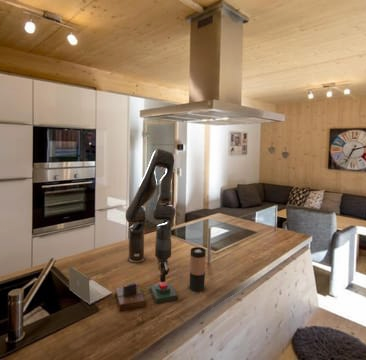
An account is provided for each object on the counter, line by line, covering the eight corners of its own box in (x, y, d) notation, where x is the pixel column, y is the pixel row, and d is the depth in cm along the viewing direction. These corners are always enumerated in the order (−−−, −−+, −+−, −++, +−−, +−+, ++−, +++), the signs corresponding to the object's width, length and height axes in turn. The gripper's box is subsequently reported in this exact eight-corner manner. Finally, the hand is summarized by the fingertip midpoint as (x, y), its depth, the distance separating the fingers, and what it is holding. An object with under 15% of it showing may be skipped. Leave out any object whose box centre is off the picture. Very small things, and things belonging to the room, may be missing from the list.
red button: (158, 286, 135) (158, 282, 135) (165, 285, 137) (165, 281, 136) (160, 290, 132) (160, 286, 132) (167, 288, 133) (168, 285, 133)
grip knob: (135, 291, 132) (135, 281, 131) (136, 293, 130) (136, 283, 129) (123, 294, 128) (122, 285, 128) (124, 296, 127) (124, 286, 126)
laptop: (112, 294, 134) (112, 268, 132) (89, 305, 125) (88, 278, 123) (91, 280, 146) (91, 257, 144) (69, 290, 137) (68, 265, 135)
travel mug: (186, 285, 143) (187, 248, 140) (200, 282, 146) (201, 246, 143) (193, 293, 137) (194, 254, 134) (207, 290, 140) (208, 251, 137)
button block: (150, 289, 139) (150, 282, 138) (169, 286, 142) (169, 279, 141) (156, 303, 128) (156, 295, 127) (177, 299, 131) (177, 291, 130)
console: (116, 293, 135) (115, 287, 134) (138, 290, 138) (138, 284, 138) (119, 311, 121) (119, 304, 121) (144, 306, 125) (144, 300, 124)
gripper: (175, 251, 126) (174, 287, 129) (167, 240, 138) (166, 273, 141) (159, 253, 124) (158, 289, 126) (152, 242, 136) (151, 275, 139)
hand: (162, 281), depth 134 cm, fingers closed
